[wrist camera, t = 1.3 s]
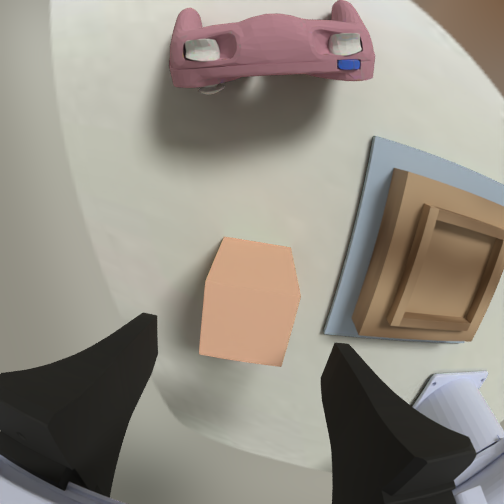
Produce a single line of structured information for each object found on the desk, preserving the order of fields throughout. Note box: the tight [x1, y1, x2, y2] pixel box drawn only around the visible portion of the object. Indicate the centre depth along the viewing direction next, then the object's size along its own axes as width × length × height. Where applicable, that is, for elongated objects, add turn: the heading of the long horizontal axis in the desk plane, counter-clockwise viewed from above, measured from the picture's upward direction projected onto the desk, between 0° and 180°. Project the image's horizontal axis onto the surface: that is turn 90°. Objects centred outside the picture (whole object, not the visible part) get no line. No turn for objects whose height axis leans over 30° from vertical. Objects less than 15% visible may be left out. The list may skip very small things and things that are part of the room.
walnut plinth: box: [352, 168, 504, 341], centre depth 16 cm, size 10×10×3 cm
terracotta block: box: [199, 237, 301, 367], centre depth 16 cm, size 4×4×6 cm
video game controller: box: [169, 0, 375, 95], centre depth 12 cm, size 10×5×7 cm, turn 95°
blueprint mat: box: [323, 136, 504, 343], centre depth 18 cm, size 13×13×1 cm
